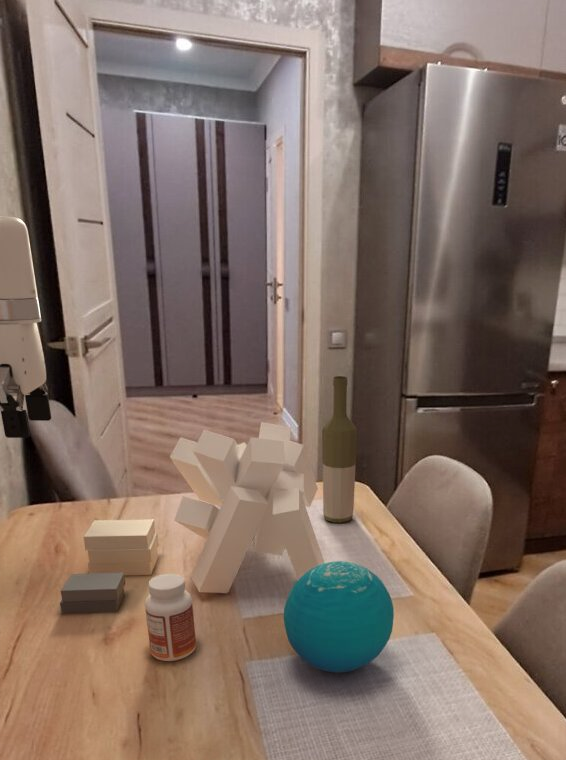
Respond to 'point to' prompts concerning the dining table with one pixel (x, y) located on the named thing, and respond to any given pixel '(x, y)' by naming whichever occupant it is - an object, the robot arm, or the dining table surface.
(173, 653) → the pill bottle
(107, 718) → the dining table surface
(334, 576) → the decorative orb
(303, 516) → the pile of blocks
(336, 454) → the bottle
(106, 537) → the cream flat block
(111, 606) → the grey books
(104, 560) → the white books
